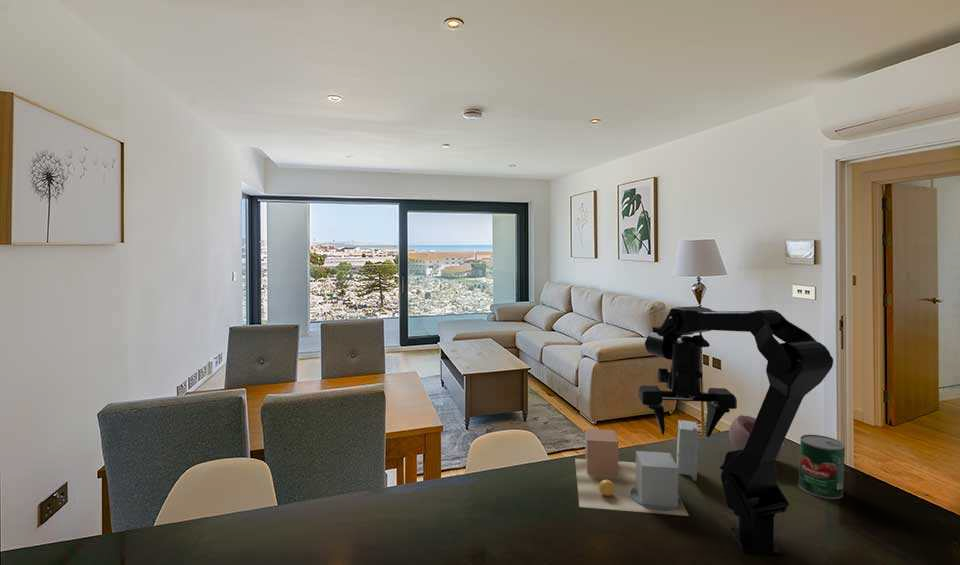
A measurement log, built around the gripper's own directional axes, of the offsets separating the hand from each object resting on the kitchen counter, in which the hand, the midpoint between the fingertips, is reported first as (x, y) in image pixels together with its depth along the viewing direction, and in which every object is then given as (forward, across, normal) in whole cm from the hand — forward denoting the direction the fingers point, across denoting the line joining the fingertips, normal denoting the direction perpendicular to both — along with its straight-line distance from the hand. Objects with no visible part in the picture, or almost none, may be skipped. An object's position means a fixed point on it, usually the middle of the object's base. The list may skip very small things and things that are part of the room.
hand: (684, 435), depth 98 cm
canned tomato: (+13, -30, -6) cm, 33 cm away
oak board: (+13, +12, 0) cm, 18 cm away
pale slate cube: (+12, +7, +5) cm, 14 cm away
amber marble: (+12, +17, +6) cm, 21 cm away
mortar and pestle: (+13, -22, -19) cm, 32 cm away
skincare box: (+13, -3, -9) cm, 16 cm away
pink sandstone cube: (+12, +17, -7) cm, 22 cm away
